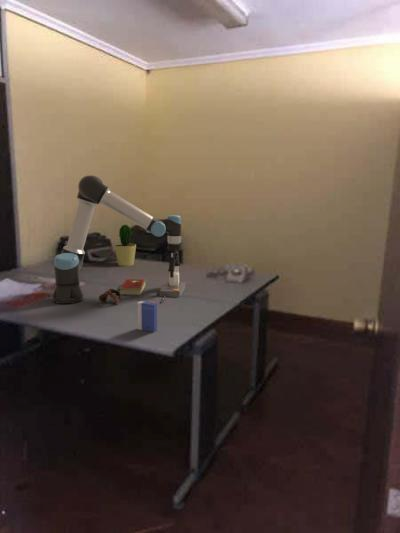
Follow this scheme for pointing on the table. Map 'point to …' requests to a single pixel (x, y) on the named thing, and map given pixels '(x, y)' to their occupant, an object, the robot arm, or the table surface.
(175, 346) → the table surface
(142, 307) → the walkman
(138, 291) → the hardcover book
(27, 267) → the table surface
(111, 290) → the brown arched piece
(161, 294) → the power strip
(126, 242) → the potted cactus
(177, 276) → the charger brick
